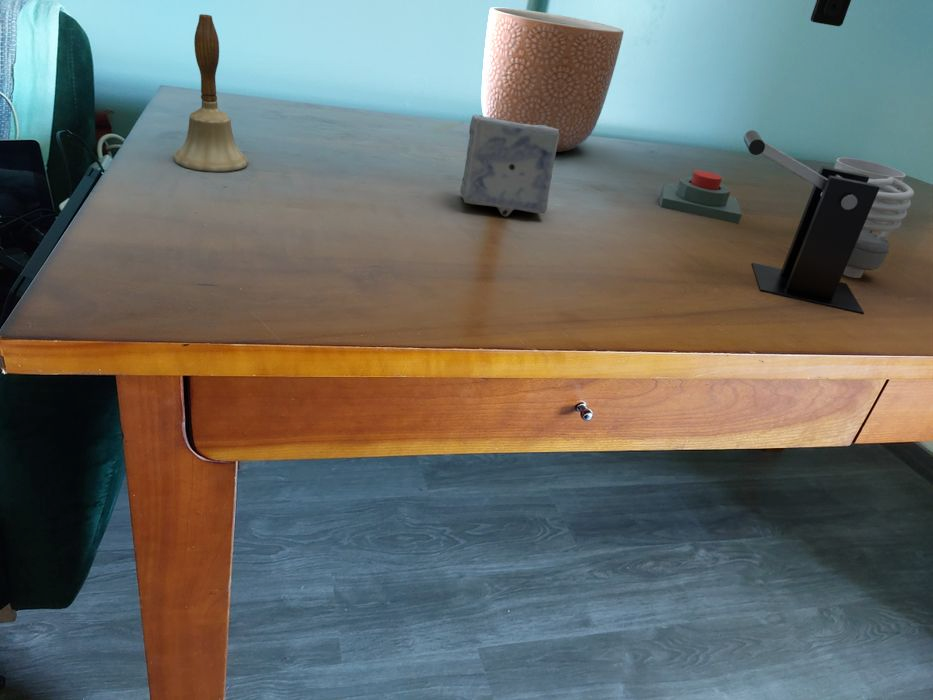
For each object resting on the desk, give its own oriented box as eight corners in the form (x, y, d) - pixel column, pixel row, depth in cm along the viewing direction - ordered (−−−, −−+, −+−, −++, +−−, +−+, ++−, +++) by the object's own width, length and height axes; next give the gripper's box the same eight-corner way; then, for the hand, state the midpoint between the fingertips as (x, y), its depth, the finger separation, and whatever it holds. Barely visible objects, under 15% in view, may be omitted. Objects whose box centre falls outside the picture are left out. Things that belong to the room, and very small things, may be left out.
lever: (742, 154, 69) (758, 132, 68) (737, 144, 73) (752, 123, 72) (851, 219, 69) (869, 197, 68) (840, 205, 74) (857, 184, 72)
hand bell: (184, 173, 81) (178, 18, 74) (165, 152, 87) (158, 6, 79) (257, 171, 86) (259, 24, 78) (235, 151, 91) (234, 13, 84)
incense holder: (536, 201, 92) (553, 117, 87) (544, 223, 85) (563, 133, 80) (459, 191, 91) (471, 105, 86) (461, 212, 84) (474, 120, 79)
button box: (731, 213, 101) (740, 185, 99) (736, 230, 94) (746, 200, 92) (658, 198, 102) (666, 170, 100) (658, 214, 95) (667, 184, 93)
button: (717, 187, 97) (721, 174, 97) (718, 194, 94) (723, 180, 93) (689, 181, 98) (693, 168, 97) (690, 188, 95) (694, 175, 94)
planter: (445, 131, 119) (462, 3, 110) (520, 123, 134) (541, 10, 125) (548, 167, 108) (576, 29, 99) (618, 154, 123) (648, 33, 114)
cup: (880, 258, 93) (915, 181, 88) (816, 245, 93) (846, 168, 89) (861, 237, 100) (893, 165, 95) (801, 226, 100) (829, 153, 96)
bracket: (756, 300, 73) (803, 175, 67) (748, 272, 80) (790, 157, 74) (859, 323, 72) (916, 198, 66) (842, 293, 79) (892, 177, 73)
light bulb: (831, 287, 80) (877, 180, 74) (812, 268, 85) (853, 166, 79) (881, 295, 80) (930, 189, 74) (859, 275, 85) (904, 174, 79)
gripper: (960, -183, 66) (876, 34, 75) (911, -156, 79) (845, 26, 88) (874, -194, 67) (801, 21, 76) (840, -166, 80) (781, 15, 89)
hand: (825, 23), depth 82 cm, fingers closed
